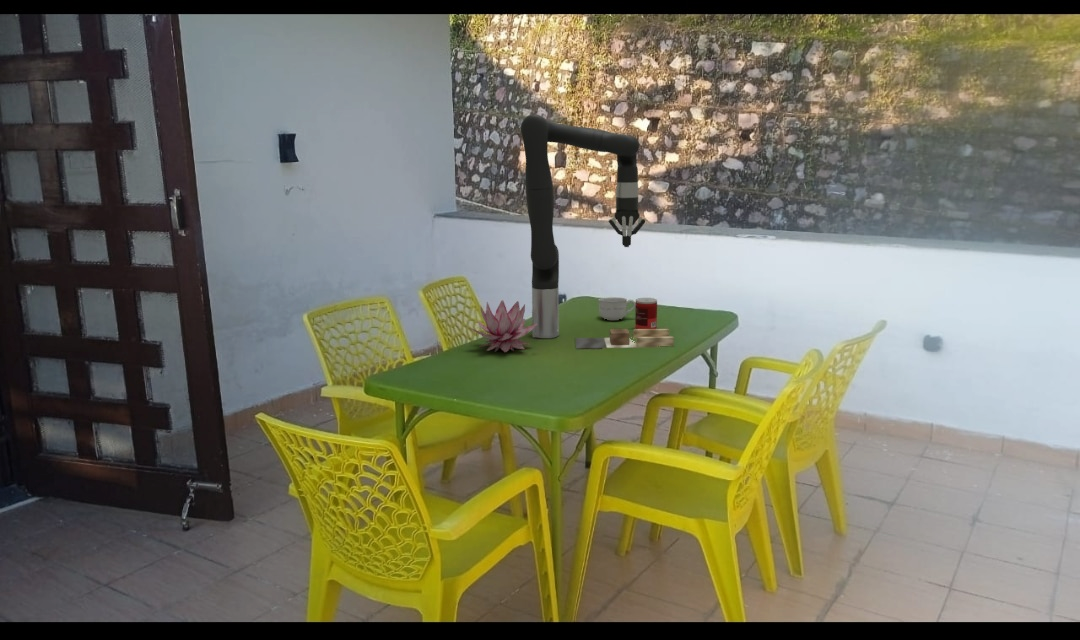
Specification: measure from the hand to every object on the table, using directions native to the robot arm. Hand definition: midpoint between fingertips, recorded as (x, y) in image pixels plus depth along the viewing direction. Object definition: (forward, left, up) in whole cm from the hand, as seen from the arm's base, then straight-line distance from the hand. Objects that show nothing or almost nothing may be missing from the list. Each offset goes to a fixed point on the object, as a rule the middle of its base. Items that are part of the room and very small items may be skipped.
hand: (626, 246), depth 277 cm
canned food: (+8, +7, -31) cm, 33 cm away
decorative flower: (-42, -18, -31) cm, 55 cm away
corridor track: (-2, -12, -31) cm, 33 cm away
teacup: (-1, +24, -31) cm, 39 cm away
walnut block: (-3, -12, -31) cm, 33 cm away
